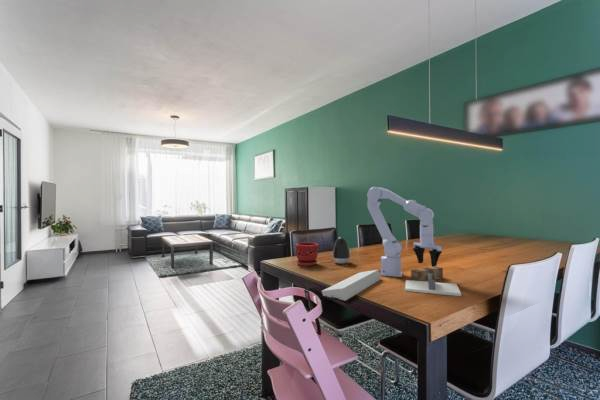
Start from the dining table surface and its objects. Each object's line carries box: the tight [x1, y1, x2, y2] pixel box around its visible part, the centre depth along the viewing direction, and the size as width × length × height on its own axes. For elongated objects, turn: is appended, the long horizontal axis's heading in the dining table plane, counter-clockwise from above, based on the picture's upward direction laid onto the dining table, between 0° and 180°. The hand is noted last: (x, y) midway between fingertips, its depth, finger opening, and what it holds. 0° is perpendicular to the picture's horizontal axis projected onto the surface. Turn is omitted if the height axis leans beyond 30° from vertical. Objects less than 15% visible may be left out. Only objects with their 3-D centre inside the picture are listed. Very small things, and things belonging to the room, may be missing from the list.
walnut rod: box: [410, 265, 444, 282], centre depth 135 cm, size 16×4×5 cm, turn 114°
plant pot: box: [295, 242, 319, 267], centre depth 169 cm, size 13×13×12 cm
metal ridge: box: [427, 273, 436, 290], centre depth 121 cm, size 2×10×4 cm, turn 159°
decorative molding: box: [321, 269, 382, 302], centre depth 125 cm, size 34×5×10 cm
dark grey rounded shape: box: [332, 236, 351, 265], centre depth 171 cm, size 10×10×15 cm
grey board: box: [404, 279, 462, 297], centre depth 121 cm, size 20×13×1 cm, turn 69°
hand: (427, 264), depth 135 cm, fingers open, 7 cm apart
